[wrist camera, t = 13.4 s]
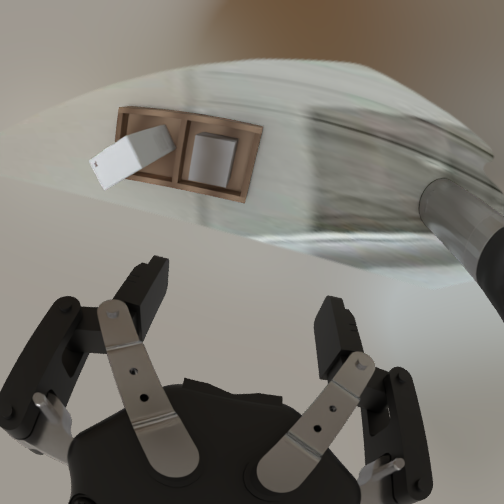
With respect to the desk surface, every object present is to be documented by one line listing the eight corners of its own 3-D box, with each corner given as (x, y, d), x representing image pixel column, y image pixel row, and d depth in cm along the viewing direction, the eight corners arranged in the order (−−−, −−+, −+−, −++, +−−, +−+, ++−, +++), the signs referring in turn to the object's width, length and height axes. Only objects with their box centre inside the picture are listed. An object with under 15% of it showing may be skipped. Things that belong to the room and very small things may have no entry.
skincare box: (144, 166, 38) (102, 192, 27) (132, 141, 36) (86, 160, 26) (178, 148, 36) (142, 169, 26) (166, 122, 34) (125, 133, 24)
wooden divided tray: (263, 126, 35) (262, 129, 31) (246, 196, 40) (243, 208, 36) (128, 106, 34) (111, 108, 30) (121, 171, 39) (105, 180, 35)
